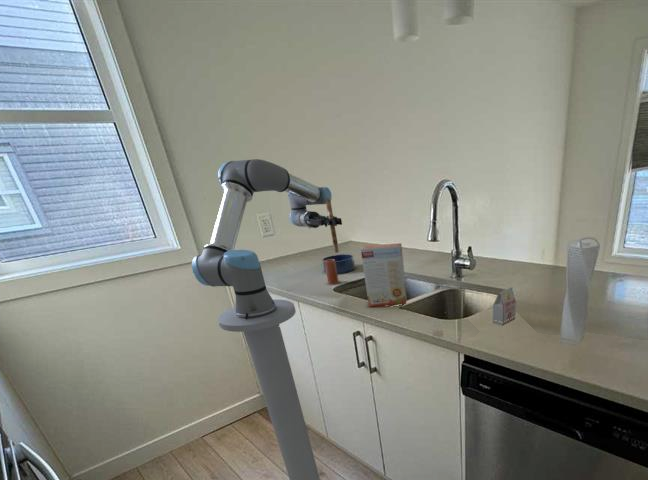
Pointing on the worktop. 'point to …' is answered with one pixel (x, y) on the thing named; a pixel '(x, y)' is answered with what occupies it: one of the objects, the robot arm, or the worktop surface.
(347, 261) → the bowl
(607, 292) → the worktop surface
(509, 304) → the milk carton
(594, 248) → the skyscraper
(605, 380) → the worktop surface
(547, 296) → the worktop surface
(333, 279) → the orange tall cylinder
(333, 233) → the stirring stick
